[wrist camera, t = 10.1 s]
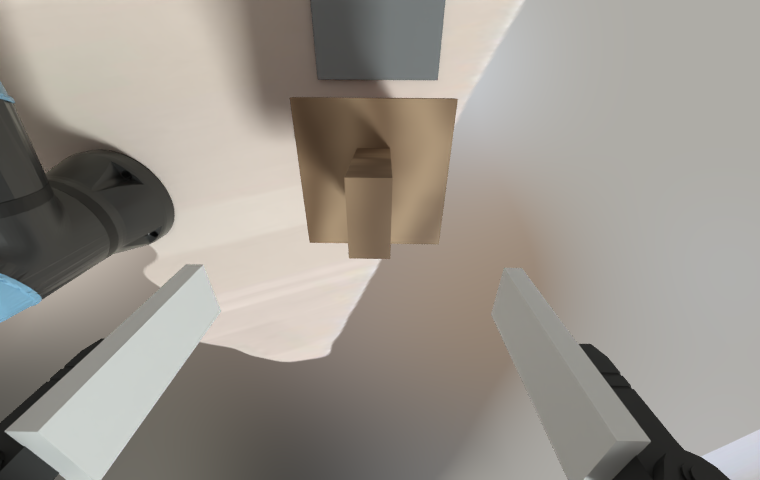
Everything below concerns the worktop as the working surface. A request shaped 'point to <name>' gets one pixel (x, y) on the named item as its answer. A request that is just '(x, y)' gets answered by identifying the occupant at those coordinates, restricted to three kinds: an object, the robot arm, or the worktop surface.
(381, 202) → the wooden base stand
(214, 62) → the worktop surface
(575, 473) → the robot arm
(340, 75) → the mat
